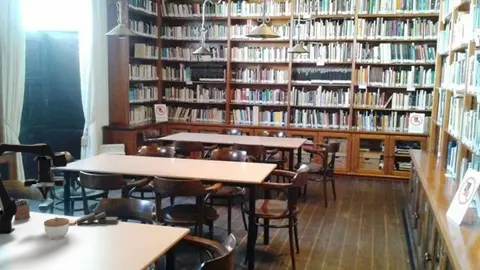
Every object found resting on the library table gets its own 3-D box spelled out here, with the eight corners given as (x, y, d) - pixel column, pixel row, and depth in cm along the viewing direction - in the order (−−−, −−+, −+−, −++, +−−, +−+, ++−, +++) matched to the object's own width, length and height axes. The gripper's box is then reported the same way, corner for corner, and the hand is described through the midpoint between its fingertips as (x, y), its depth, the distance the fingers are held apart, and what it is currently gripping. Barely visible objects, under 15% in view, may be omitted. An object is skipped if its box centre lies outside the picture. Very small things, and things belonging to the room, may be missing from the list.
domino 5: (98, 226, 229) (116, 225, 230) (98, 223, 229) (116, 222, 230) (100, 223, 234) (117, 222, 235) (100, 220, 234) (117, 219, 235)
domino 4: (97, 222, 229) (115, 222, 230) (97, 219, 229) (115, 219, 230) (100, 219, 234) (117, 219, 235) (100, 216, 234) (117, 217, 235)
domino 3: (88, 223, 228) (105, 216, 230) (87, 220, 228) (104, 213, 230) (89, 221, 233) (105, 214, 235) (88, 218, 233) (104, 211, 235)
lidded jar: (74, 234, 213) (73, 215, 212) (60, 242, 202) (60, 221, 201) (53, 232, 215) (53, 213, 214) (39, 240, 204) (38, 220, 203)
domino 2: (77, 224, 227) (95, 217, 230) (76, 221, 227) (93, 214, 229) (78, 222, 232) (95, 215, 234) (77, 219, 232) (94, 212, 234)
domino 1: (55, 226, 226) (74, 226, 227) (55, 223, 226) (73, 222, 227) (58, 223, 231) (76, 223, 232) (58, 220, 231) (76, 220, 232)
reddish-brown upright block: (28, 216, 242) (27, 198, 241) (31, 217, 240) (30, 199, 239) (13, 219, 236) (12, 201, 235) (16, 220, 234) (15, 202, 233)
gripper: (68, 165, 234) (69, 195, 236) (30, 166, 232) (31, 196, 234) (62, 169, 223) (63, 200, 225) (22, 170, 221) (24, 201, 223)
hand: (45, 199), depth 227 cm, fingers closed
